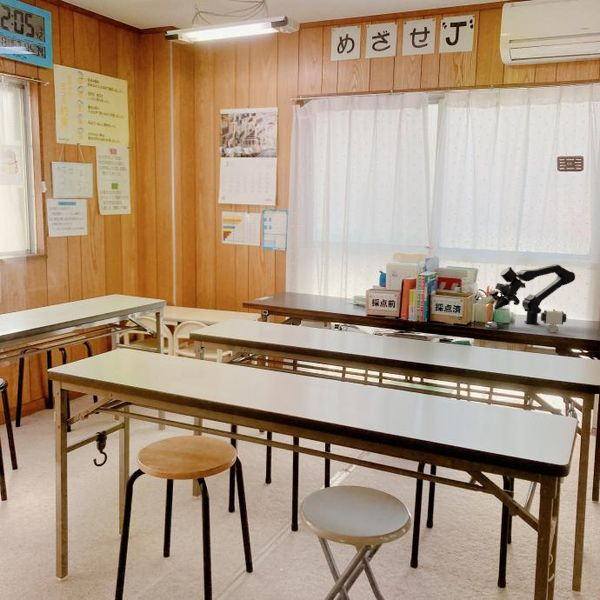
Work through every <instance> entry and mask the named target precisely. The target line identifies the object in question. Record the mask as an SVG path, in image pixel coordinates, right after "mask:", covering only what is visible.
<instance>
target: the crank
mask: <svg viewBox="0 0 600 600" xmlns="http://www.w3.org/2000/svg"><path fill="white" fill-rule="evenodd" d="M493 308H494V304H493V303H486V309H485V310H486V312H485V313H486V314H485V325H489V326H491V327H496V326H497V325H498V322H496V321H493V311H494V309H493Z"/></svg>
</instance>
